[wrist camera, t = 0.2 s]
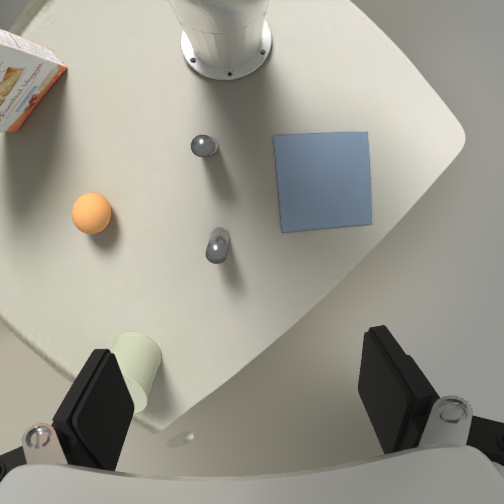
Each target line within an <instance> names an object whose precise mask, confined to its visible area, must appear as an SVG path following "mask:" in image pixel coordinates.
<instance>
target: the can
mask: <svg viewBox="0 0 504 504" xmlns="http://www.w3.org/2000/svg"><path fill="white" fill-rule="evenodd" d="M110 351H111V353H114V354H115V356H116V359H117V362H118V364H119V367H120V370H121V372H122V375H123V377H124V380H125V383H126V385H127V388H128V390H129V392H130V395H131V397H132V400H133V402H134V406H135V410H134V414H137V413H140V412H142V411H143V410H144V409H145V408H146V406H147V403H148V398H149V394H150V391H151V388H152V385H153V381H154V378H155V375H156V372H157V370H158V367H159V365H160V363H161V360H162V355H161V351H160V349H159V347H158V345H157V344H156V343H155V342H154V341H153V340H152V339H151V338H149V337H148V336H146V335H144V334H142V333H139V332H132V331H131V332H124V333H122V334H120V335H119V336H118V337H117V338H116V339H115V341H114V344H113V346H112V348H111V350H110Z"/></svg>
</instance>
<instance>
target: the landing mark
mask: <svg viewBox="0 0 504 504" xmlns="http://www.w3.org/2000/svg"><path fill="white" fill-rule="evenodd" d="M273 140H274V150H275V160H276V171H277V181H278V192H279V204H280V215H281V227H282V233H285V232H295V231H305V230H314V229H324V228H334V227H344V226H355V225H365V224H372V211H371V177H370V158H369V143H368V132H334V133H310V134H294V135H280V136H273Z"/></svg>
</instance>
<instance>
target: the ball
mask: <svg viewBox="0 0 504 504" xmlns="http://www.w3.org/2000/svg"><path fill="white" fill-rule="evenodd" d="M110 218H111V208H110V204H109V202H108V201H107V199H106V198H105V197H104V196H102V195H100V194H98V193H86V194H84V195H82V196H81V197H79V198H78V199H77V201H76V202H75V204H74V206H73V210H72V219H73V222H74V224H75V226H76V227H77V228H78V229H79V230H80V231H82V232H84V233H87V234H95V233H98V232H100V231H102V230H103V229H104V228H105V227H106V226H107V225H108V223H109V221H110Z"/></svg>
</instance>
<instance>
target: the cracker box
mask: <svg viewBox="0 0 504 504" xmlns="http://www.w3.org/2000/svg"><path fill="white" fill-rule="evenodd" d="M66 69H67V67H66V66H65V65H64V63H63V62H62V61H61V60H60V59H59V58H58V56H57V55H56V54H55V53H54V52H53V50H51V49H49V48H46V47H44V46H42V45H39V44H37V43H35V42H32V41H30V40H27V39H25V38H22V37H20V36H17V35H15V34H12V33H9V32H7V31H4V30H1V29H0V132H17V131H18V130H19V128H20V127H21V125H22V124H23V123H24V121H25V120H26V118H27V117H28V116H29V114H30V113H31V112H32V110H33V109H34V108H35V106H36V105H37V104H38V103H39V101H40V100H41V99H42V98H43V96H44V95H45V94H46V93H47V91H48V90H49V89H50V88H51V87H52V85H53V84H54V83H55V82H56V81H57V80H58V79H59V77H60V76H61V75H62V74H63V73H64V72H65V71H66Z"/></svg>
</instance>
